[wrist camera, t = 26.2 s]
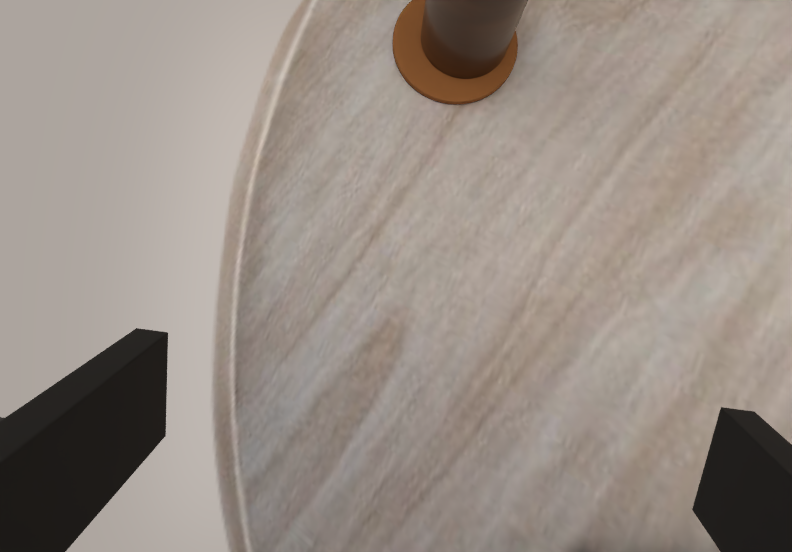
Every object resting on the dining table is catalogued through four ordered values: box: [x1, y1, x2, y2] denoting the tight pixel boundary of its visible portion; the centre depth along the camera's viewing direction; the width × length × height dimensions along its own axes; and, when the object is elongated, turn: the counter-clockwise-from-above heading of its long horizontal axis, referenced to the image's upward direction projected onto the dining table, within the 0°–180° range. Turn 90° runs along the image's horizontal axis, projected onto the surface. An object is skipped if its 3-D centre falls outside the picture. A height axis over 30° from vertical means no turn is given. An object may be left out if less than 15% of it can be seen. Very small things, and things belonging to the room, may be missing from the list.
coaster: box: [393, 0, 518, 104], centre depth 38 cm, size 8×8×1 cm
